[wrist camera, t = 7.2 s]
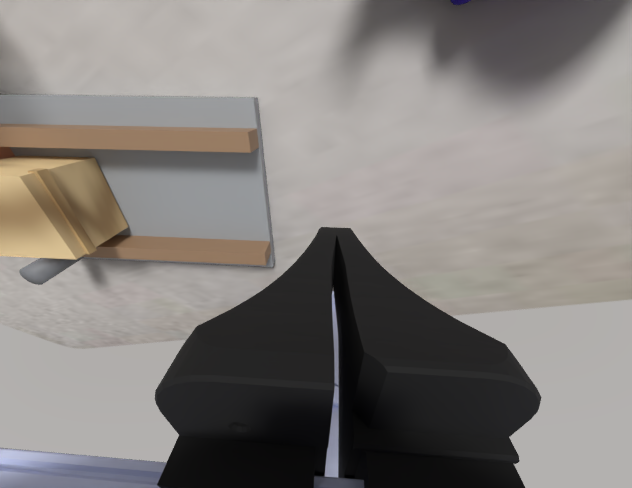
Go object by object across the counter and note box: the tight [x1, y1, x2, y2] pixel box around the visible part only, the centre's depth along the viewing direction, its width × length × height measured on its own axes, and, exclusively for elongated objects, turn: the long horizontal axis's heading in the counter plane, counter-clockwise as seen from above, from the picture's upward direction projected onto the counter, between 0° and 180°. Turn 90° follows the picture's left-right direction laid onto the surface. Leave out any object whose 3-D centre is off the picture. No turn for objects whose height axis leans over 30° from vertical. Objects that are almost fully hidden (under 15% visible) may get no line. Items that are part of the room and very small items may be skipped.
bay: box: [0, 94, 275, 285], centre depth 18 cm, size 14×21×5 cm, turn 89°
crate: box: [0, 156, 128, 260], centre depth 17 cm, size 6×6×5 cm
